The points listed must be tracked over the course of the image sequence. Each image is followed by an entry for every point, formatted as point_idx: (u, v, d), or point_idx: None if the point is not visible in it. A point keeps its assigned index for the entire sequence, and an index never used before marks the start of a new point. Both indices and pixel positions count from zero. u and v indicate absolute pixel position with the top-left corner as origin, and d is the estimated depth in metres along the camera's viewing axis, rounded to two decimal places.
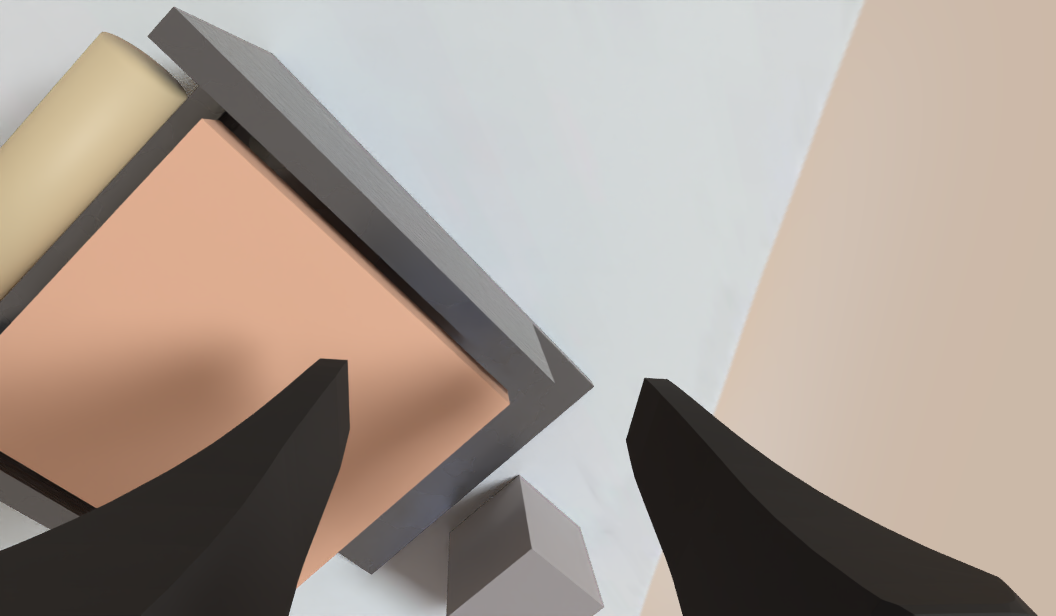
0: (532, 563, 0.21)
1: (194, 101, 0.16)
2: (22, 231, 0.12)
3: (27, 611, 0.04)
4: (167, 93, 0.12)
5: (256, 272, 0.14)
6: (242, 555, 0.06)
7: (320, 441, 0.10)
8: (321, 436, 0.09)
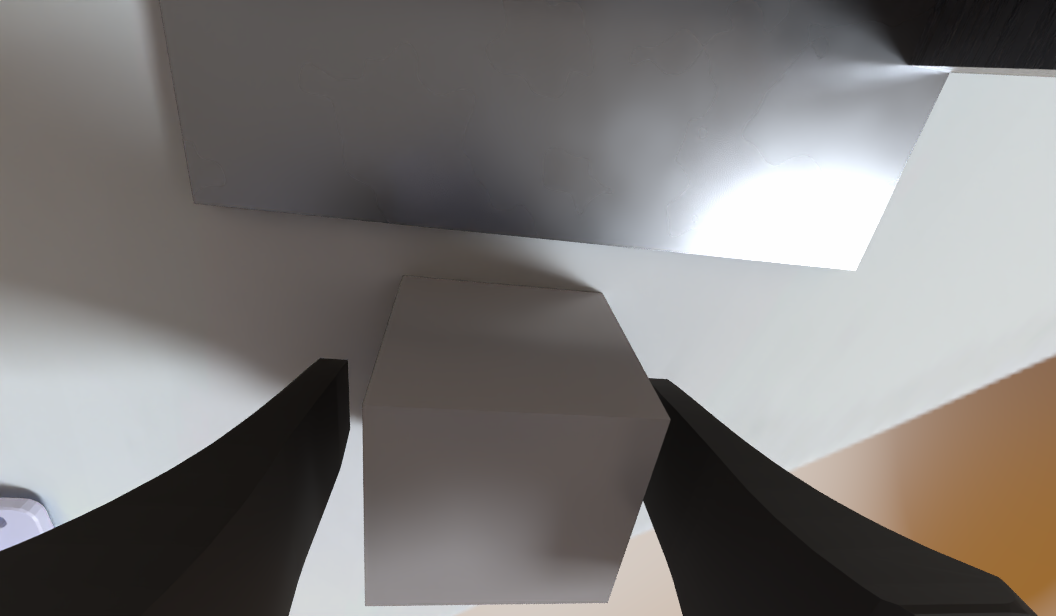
0: (633, 446, 0.08)
1: None
2: None
3: (27, 611, 0.04)
4: None
5: None
6: (242, 555, 0.06)
7: (320, 441, 0.10)
8: (321, 436, 0.09)
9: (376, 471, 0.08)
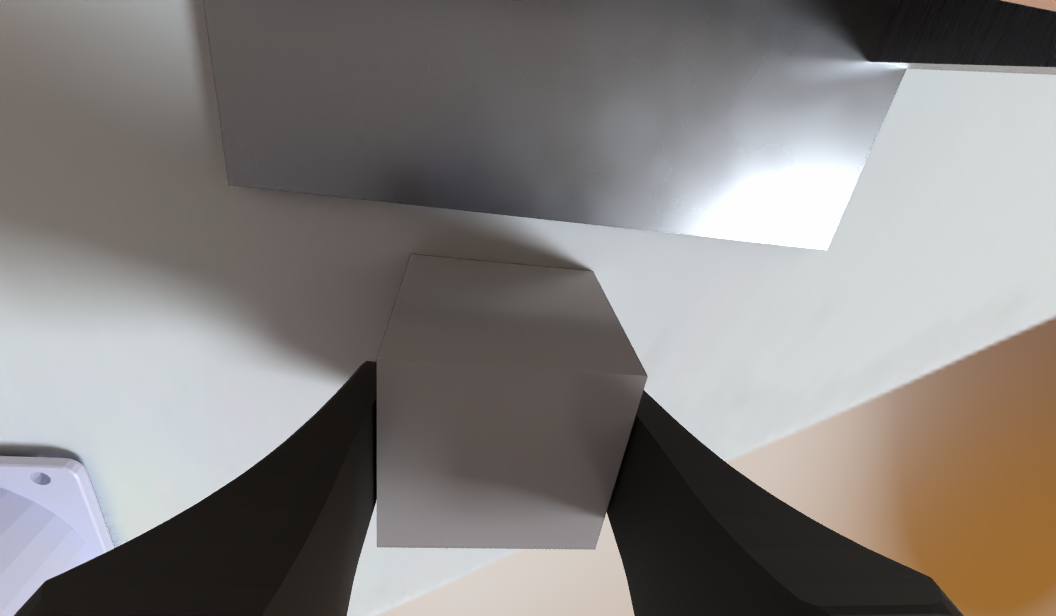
0: (615, 400, 0.10)
1: None
2: None
3: (153, 610, 0.04)
4: None
5: None
6: (322, 556, 0.07)
7: (373, 443, 0.10)
8: (374, 438, 0.10)
9: (388, 419, 0.09)
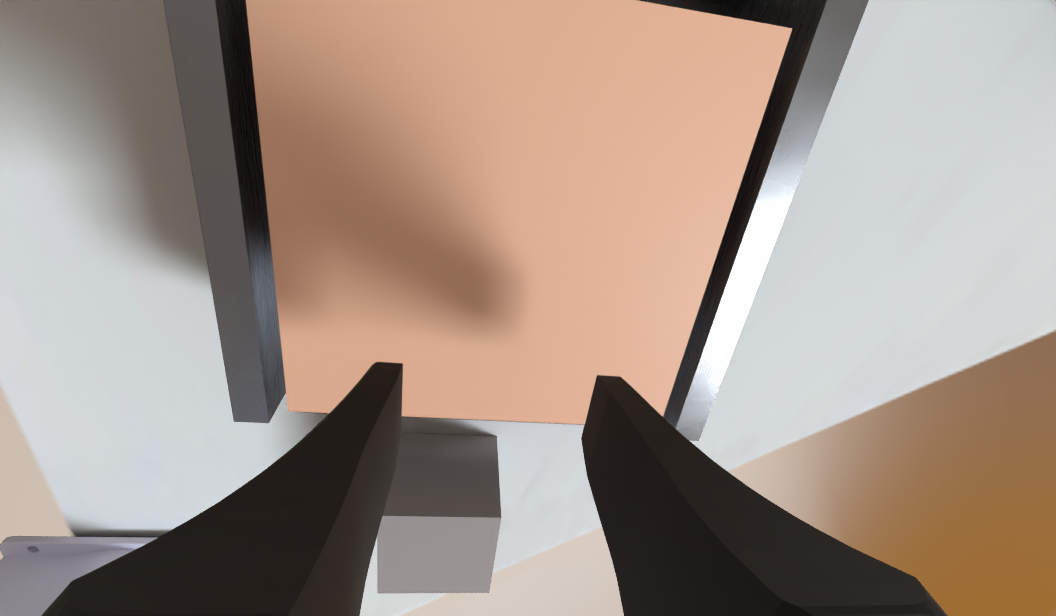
0: (487, 527, 0.21)
1: None
2: None
3: (181, 609, 0.04)
4: None
5: (660, 170, 0.13)
6: (339, 556, 0.07)
7: (384, 444, 0.10)
8: (385, 439, 0.10)
9: (382, 538, 0.20)
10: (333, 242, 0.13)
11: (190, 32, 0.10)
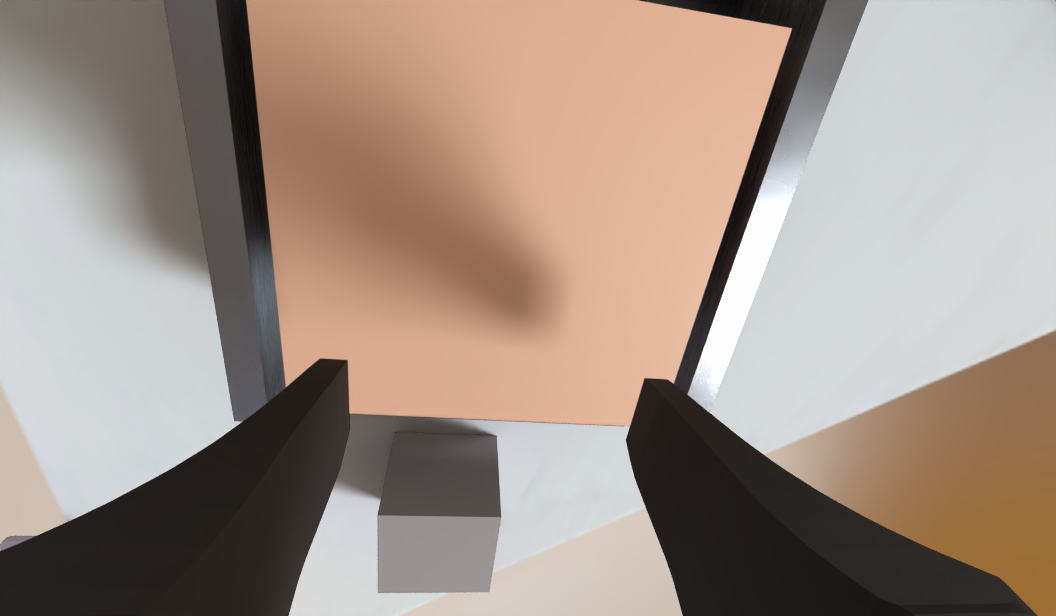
0: (487, 527, 0.21)
1: None
2: None
3: (27, 611, 0.04)
4: None
5: (660, 170, 0.13)
6: (242, 556, 0.06)
7: (320, 441, 0.09)
8: (321, 436, 0.09)
9: (382, 538, 0.20)
10: (334, 242, 0.13)
11: (190, 32, 0.10)
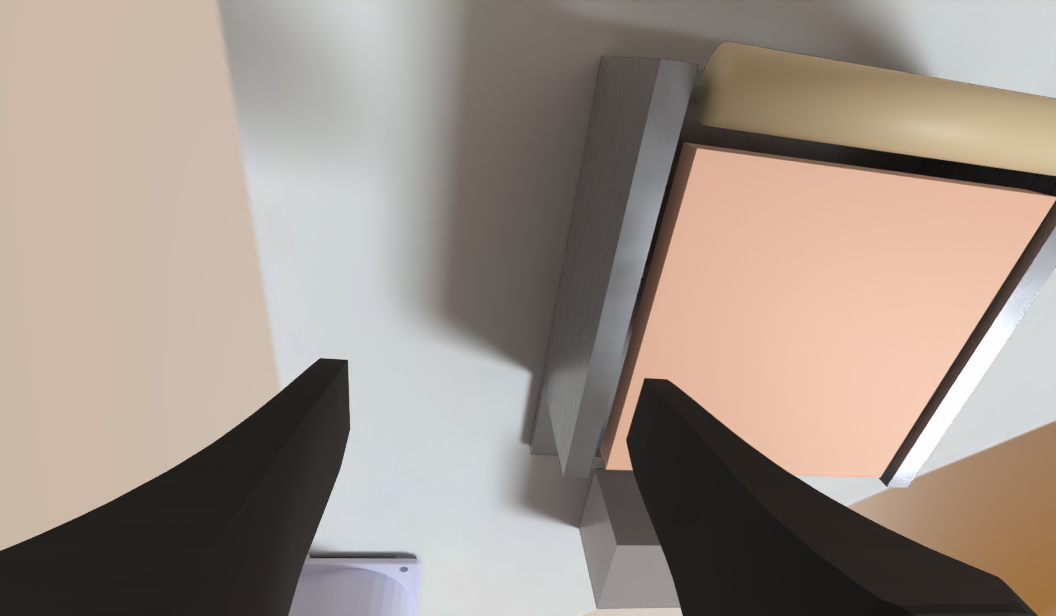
0: None
1: None
2: (950, 149, 0.13)
3: (27, 612, 0.04)
4: None
5: (936, 293, 0.17)
6: (242, 556, 0.06)
7: (321, 440, 0.10)
8: (321, 436, 0.09)
9: (615, 564, 0.24)
10: (685, 348, 0.17)
11: (639, 213, 0.14)
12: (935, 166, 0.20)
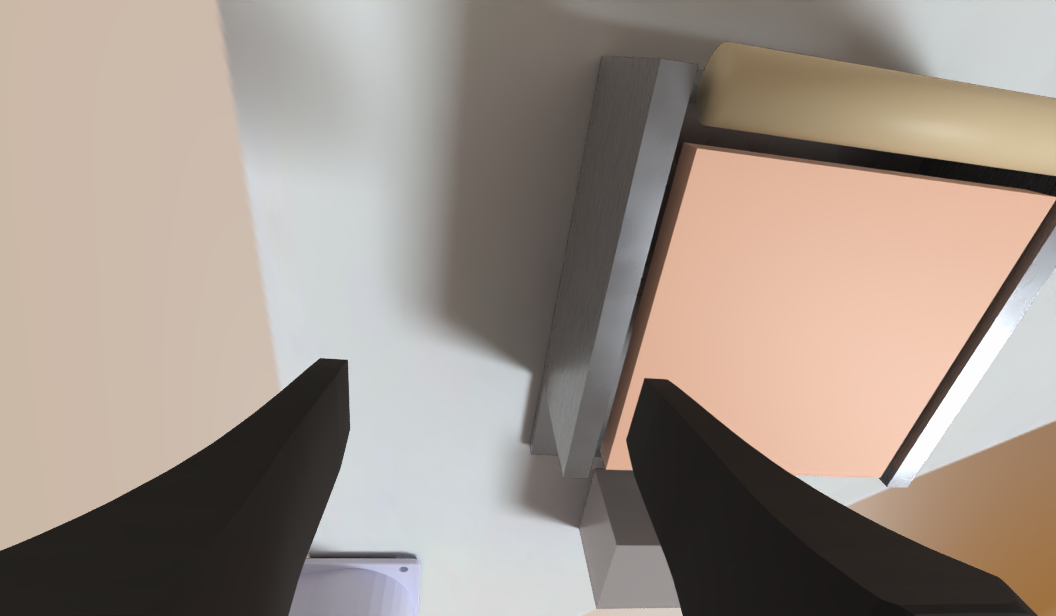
0: None
1: None
2: (950, 149, 0.13)
3: (27, 612, 0.04)
4: None
5: (936, 293, 0.17)
6: (242, 556, 0.06)
7: (321, 440, 0.10)
8: (321, 436, 0.09)
9: (615, 563, 0.24)
10: (685, 348, 0.17)
11: (639, 213, 0.14)
12: (935, 166, 0.20)
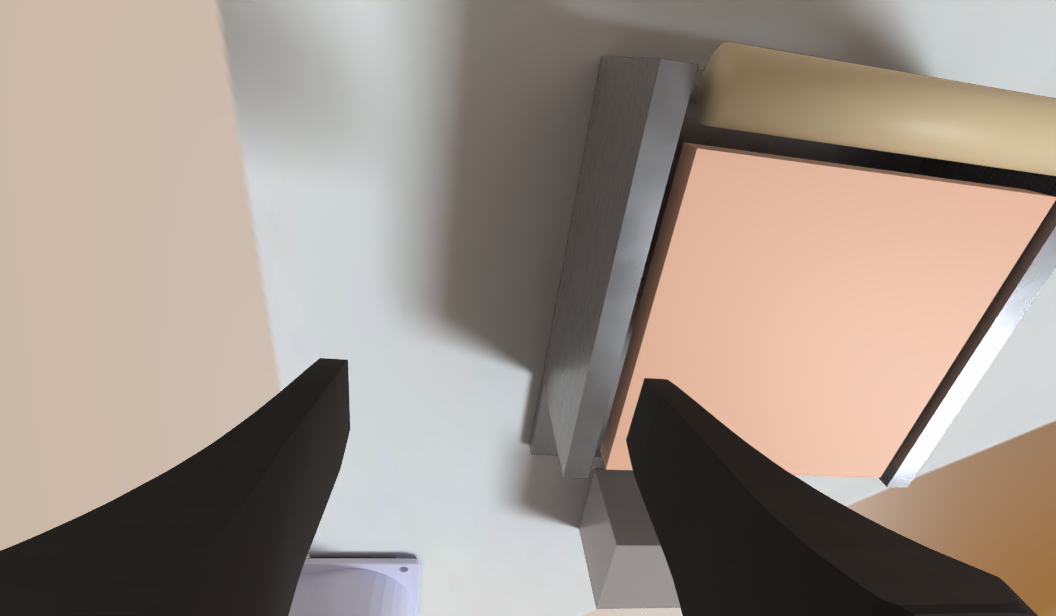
0: None
1: None
2: (950, 149, 0.13)
3: (27, 612, 0.04)
4: None
5: (936, 293, 0.17)
6: (242, 556, 0.06)
7: (321, 440, 0.10)
8: (321, 436, 0.09)
9: (615, 563, 0.24)
10: (685, 348, 0.17)
11: (639, 213, 0.14)
12: (935, 166, 0.20)
